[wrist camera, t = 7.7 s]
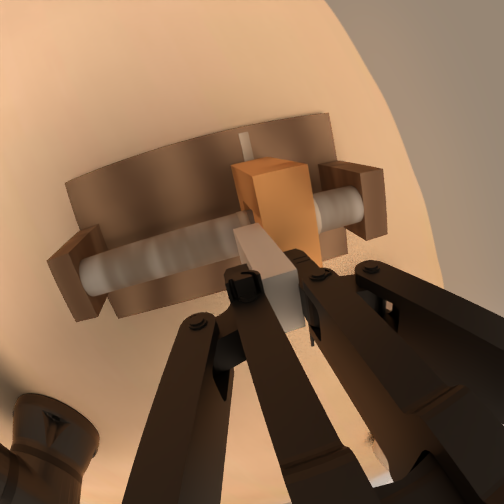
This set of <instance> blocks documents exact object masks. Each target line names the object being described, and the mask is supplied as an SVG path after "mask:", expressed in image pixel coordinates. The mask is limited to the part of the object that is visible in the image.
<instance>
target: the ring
mask: <svg viewBox="0 0 504 504" xmlns="http://www.w3.org/2000/svg"><path fill="white" fill-rule="evenodd" d="M231 169H232V174H233V178H234V182H235V186H236V191H237V195H238V199H239V204H240V208H241V211H243V210H245V211H246V210H250V209H251V210H252V211H253V215H254V220H255V223H259V224H260V225H261V227H262V228H263V229H264V230H265V231H266V232H267V234H268V235H269V236H270V237H271V238H272V240H273V241H274V242H275V243H276V244H277V246H278V247H279V248H280V249H281V250H282V252H285V251H288V250H292V249H295V248H296V249H299V250H302V251H304V252H305V253H306V254H307V255H308V256H309V257H310V258H311V259H312V260H313V261H314V262H315V263H316V264H317V265H318V266H319V267H320V268H323V266H322V257H321V249H320V242H319V234H318V227H317V220H316V213H315V206H314V200H313V193H312V187H311V181H310V175H309V169H308V164H304V163H299V162H294V161H289V160H284V159H278V158H273V157H263V158H259V159H254V160H250V161H246V162H241V163H237V164H233V165H231Z"/></svg>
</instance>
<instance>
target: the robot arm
mask: <svg viewBox="0 0 504 504" xmlns="http://www.w3.org/2000/svg"><path fill="white" fill-rule="evenodd" d="M233 232H234V236H235V240H236V244H237V248H238V252H239V256H240V259H241V263H242V265H238V266H235V267H231V268H228V269H226V271H225V273H224V274H223V275H224V279H225V286H226V289H227V293H228V296H229V299H230V306H229V308H228V309H227V310H226V311H225V312H224V313H222V314H220V315H219V316H217V317H215V316H214V315H213V314H211V313H208V312H201V313H196V314H193V315H191V316H189V317H188V318H186V319H185V320H184V321H183V322H182V324H181V325H180V328H179V331H178V333H177V336H176V339H175V342H174V344H173V347H172V350H171V352H170V355H169V358H168V361H167V364H166V366H165V369H164V372H163V375H162V378H161V381H160V384H159V386H158V389H157V392H156V395H155V398H154V401H153V404H152V407H151V410H150V413H149V416H148V419H147V422H146V425H145V428H144V431H143V434H142V437H141V441H140V444H139V447H138V450H137V453H136V457H135V460H134V463H133V466H132V470H131V473H130V476H129V480H128V483H127V487H126V490H125V494H124V497H123V501H122V504H220V500H221V491H222V481H223V472H224V462H225V453H226V443H227V434H228V425H229V415H230V406H231V397H232V388H233V378H234V368H233V367H235V366H236V365H238V364H240V363H242V362H244V361H245V360H247V363H248V366H249V369H250V373H251V376H252V379H253V383H254V386H255V389H256V393H257V396H258V399H259V402H260V406H261V409H262V412H263V415H264V418H265V422H266V425H267V428H268V431H269V434H270V437H271V440H272V443H273V446H274V450H275V453H276V456H277V459H278V462H279V465H280V468H281V472H282V475H283V478H284V481H285V484H286V487H287V490H288V493H289V496H290V499H291V502H292V504H504V426H503V425H502V424H504V318H503V317H501V316H499V315H497V314H495V313H493V312H491V311H489V310H487V309H485V308H483V307H481V306H479V305H476V304H474V303H472V302H470V301H468V300H466V299H464V298H462V297H459V296H457V295H455V294H453V293H451V292H449V291H446V290H444V289H442V288H440V287H438V286H435V285H433V284H431V283H429V282H427V281H424V280H422V279H420V278H418V277H415V276H413V275H411V274H408V273H406V272H404V271H402V270H399V269H397V268H395V267H392V266H390V265H388V264H385V263H383V262H380V261H374V260H368V261H364V262H361V263H359V264H358V265H356V267H355V274H353V275H346V276H338V275H337V274H336V273H335V272H334V271H333V270H331V269H328V268H320V267H319V266H318V265H317V264H316V263H315V262H314V261H313V260H312V259H311V258H310V257H309V256H308V255H307V254H306V253H305V252H304V251H302V250H299V249H296V248H295V249H292V250H288V251H285V252H282V250H281V249H280V248H279V247H278V246H277V244H276V243H275V242H274V241H273V240H272V238H271V237H270V236H269V235H268V234H267V232H266V231H265V230H264V229H263V228H262V227H261V225H260V224H259V223H254V224H250V225H247V226H243V227H239V228H236V229H233ZM387 301H388V302H390V303H392V311H391V310H388V309H387V308H386V302H387ZM304 316H305V318H306V320H307V321H308V325H309V332H310V340H311V346H314V340H315V342H316V343H317V345H318V347H319V348H320V350H321V352H322V353H323V355H324V356H325V358H326V360H327V361H328V363H329V365H330V366H331V368H332V370H333V371H334V373H335V374H336V376H337V378H338V379H339V381H340V383H341V384H342V386H343V388H344V389H345V391H346V392H347V394H348V396H349V397H350V399H351V401H352V402H353V404H354V406H355V407H356V409H357V410H358V412H359V414H360V415H361V417H362V419H363V420H364V422H365V424H366V425H367V427H368V429H369V430H370V432H371V434H372V435H373V437H374V439H375V440H376V442H377V443H378V445H379V447H380V448H381V450H382V452H383V453H384V455H385V457H386V459H387V461H388V465H389V472H390V475H391V477H392V479H393V481H394V482H393V483H390V484H386V485H382V486H378V487H374V488H373V487H372V486H371V484H370V482H369V480H368V478H367V476H366V475H365V473H364V471H363V469H362V467H361V465H360V463H359V462H358V460H357V458H356V456H355V455H354V453H353V452H352V450H351V449H350V448H349V447H346V446H344V445H343V444H342V443H341V441H340V439H339V437H338V435H337V433H336V431H335V429H334V428H333V426H332V424H331V422H330V420H329V418H328V416H327V414H326V412H325V410H324V408H323V406H322V404H321V402H320V400H319V398H318V397H317V395H316V393H315V391H314V389H313V387H312V385H311V383H310V381H309V379H308V377H307V375H306V373H305V371H304V369H303V367H302V365H301V363H300V361H299V359H298V357H297V356H296V354H295V352H294V350H293V348H292V346H291V344H290V342H289V340H288V338H287V336H286V334H285V333H287V332H290V331H293V330H296V329H299V328H302V327H305V319H304ZM98 446H99V435H98V432H97V431H96V429H95V428H94V426H93V425H92V424H91V423H90V422H89V421H88V420H87V419H86V418H85V417H83V416H82V415H81V414H79V413H78V412H76V411H75V410H73V409H72V408H70V407H68V406H67V405H65V404H63V403H61V402H59V401H56V400H54V399H51V398H49V397H46V396H42V395H37V394H24V395H22V396H20V397H19V398H18V399H17V402H16V404H15V406H14V409H13V442H12V446H11V449H10V450H8V449H7V448H6V447H5V446H3V445H2V444H1V443H0V504H80V495H81V485H82V478H83V475H84V473H85V471H86V469H87V468H88V466H89V464H90V461H91V459H92V458H93V457H94V456H95V455H96V453H97V451H98Z"/></svg>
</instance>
